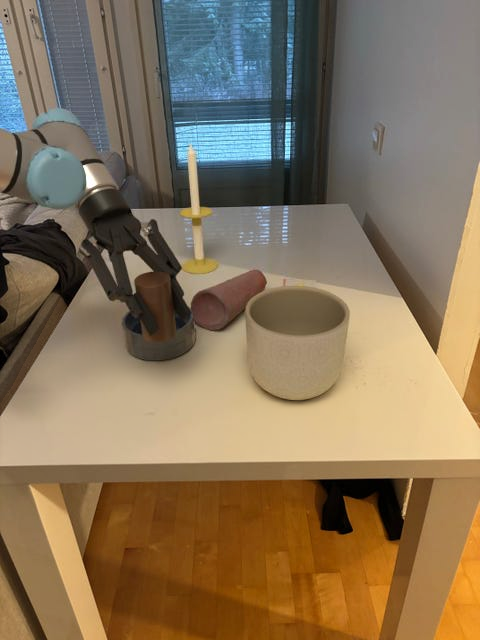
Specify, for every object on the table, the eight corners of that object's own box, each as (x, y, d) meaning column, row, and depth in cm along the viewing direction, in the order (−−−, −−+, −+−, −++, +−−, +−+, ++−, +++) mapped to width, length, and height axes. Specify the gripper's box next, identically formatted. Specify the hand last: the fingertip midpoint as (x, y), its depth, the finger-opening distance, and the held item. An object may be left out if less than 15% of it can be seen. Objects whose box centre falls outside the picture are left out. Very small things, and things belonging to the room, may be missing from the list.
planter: (259, 349, 93) (258, 280, 85) (345, 361, 89) (353, 290, 81) (235, 404, 79) (232, 329, 72) (336, 421, 75) (345, 343, 67)
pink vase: (228, 336, 98) (226, 298, 93) (190, 325, 102) (187, 289, 97) (270, 292, 114) (271, 259, 109) (237, 285, 118) (235, 252, 113)
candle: (204, 255, 134) (195, 136, 118) (225, 266, 128) (219, 141, 111) (174, 265, 129) (161, 142, 112) (195, 277, 122) (184, 148, 105)
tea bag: (283, 315, 105) (284, 274, 99) (313, 317, 103) (316, 276, 98) (281, 323, 101) (282, 282, 96) (312, 326, 100) (315, 284, 95)
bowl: (153, 372, 88) (149, 345, 85) (113, 343, 97) (108, 318, 93) (209, 341, 96) (207, 316, 93) (168, 317, 105) (165, 294, 102)
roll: (155, 346, 74) (147, 290, 68) (136, 333, 77) (127, 279, 72) (183, 333, 77) (177, 278, 72) (163, 321, 80) (156, 268, 75)
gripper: (140, 200, 83) (206, 311, 81) (39, 227, 72) (113, 356, 70) (154, 175, 77) (225, 294, 75) (46, 200, 66) (127, 340, 64)
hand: (171, 324), depth 73 cm, fingers closed on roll, 5 cm apart
